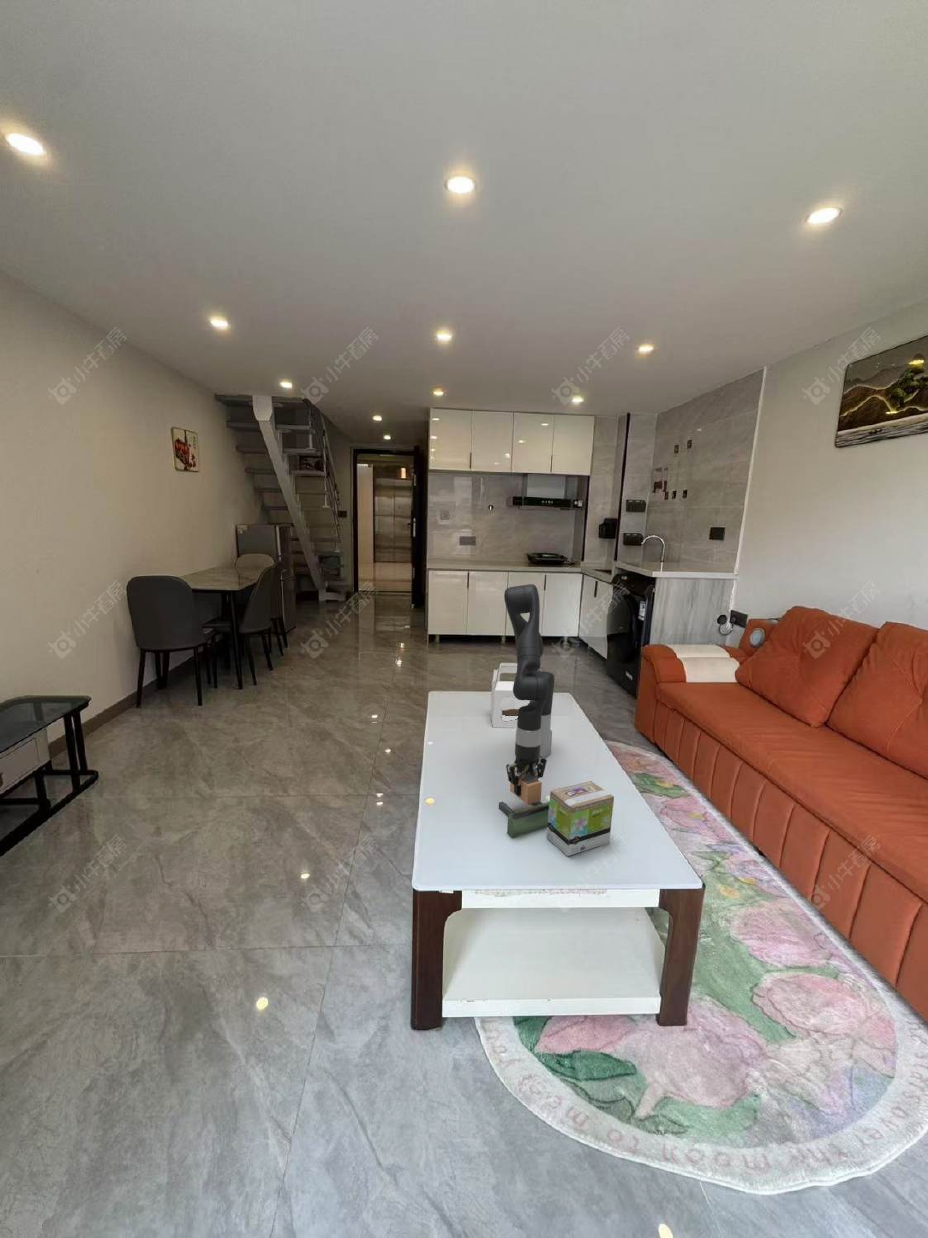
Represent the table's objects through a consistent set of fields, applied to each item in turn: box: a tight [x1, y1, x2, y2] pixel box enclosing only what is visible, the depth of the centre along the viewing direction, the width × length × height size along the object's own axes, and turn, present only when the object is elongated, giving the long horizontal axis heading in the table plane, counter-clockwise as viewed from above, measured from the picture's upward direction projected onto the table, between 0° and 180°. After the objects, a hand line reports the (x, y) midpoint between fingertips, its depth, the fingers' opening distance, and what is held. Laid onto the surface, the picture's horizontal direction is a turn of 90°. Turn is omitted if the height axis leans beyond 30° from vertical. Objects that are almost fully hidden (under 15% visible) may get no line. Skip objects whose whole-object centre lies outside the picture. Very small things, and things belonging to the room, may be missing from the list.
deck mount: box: [498, 800, 550, 839], centre depth 152 cm, size 22×15×7 cm
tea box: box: [546, 780, 615, 857], centre depth 139 cm, size 15×10×15 cm, turn 117°
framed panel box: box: [509, 772, 543, 806], centre depth 153 cm, size 5×9×6 cm, turn 29°
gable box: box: [490, 662, 543, 729], centre depth 224 cm, size 22×13×28 cm, turn 91°
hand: (525, 792), depth 153 cm, fingers closed on framed panel box, 5 cm apart
